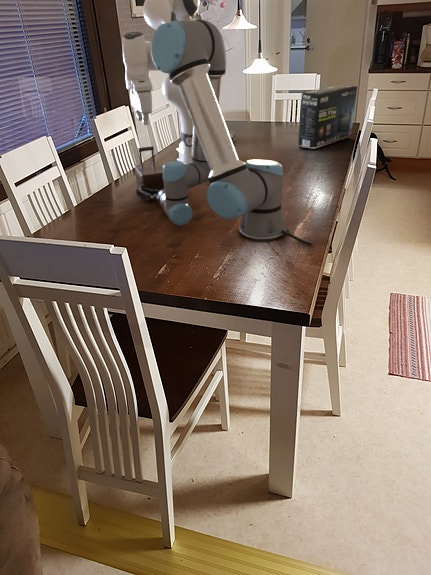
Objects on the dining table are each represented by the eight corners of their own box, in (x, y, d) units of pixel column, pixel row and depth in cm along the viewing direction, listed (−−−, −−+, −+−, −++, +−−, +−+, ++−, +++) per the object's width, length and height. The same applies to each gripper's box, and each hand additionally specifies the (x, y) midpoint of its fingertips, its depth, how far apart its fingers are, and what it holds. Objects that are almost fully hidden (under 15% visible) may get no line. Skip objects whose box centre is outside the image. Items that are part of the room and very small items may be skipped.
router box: (314, 151, 231) (318, 94, 217) (296, 148, 237) (299, 92, 224) (352, 138, 251) (358, 85, 238) (335, 135, 258) (340, 83, 245)
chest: (137, 191, 189) (134, 168, 184) (160, 187, 192) (158, 164, 187) (145, 202, 178) (142, 177, 173) (169, 198, 180) (167, 174, 176)
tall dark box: (134, 167, 185) (131, 146, 180) (158, 164, 187) (156, 143, 183) (142, 177, 173) (139, 155, 169) (167, 174, 176) (165, 152, 171)
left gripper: (124, 80, 175) (129, 118, 182) (135, 87, 158) (140, 128, 166) (140, 79, 177) (144, 116, 184) (153, 85, 160) (157, 126, 167)
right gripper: (139, 216, 159) (127, 196, 177) (200, 206, 165) (182, 187, 183) (136, 195, 155) (124, 177, 173) (199, 186, 161) (181, 169, 180)
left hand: (142, 122), depth 175 cm, fingers open, 8 cm apart
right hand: (154, 182), depth 178 cm, fingers closed on chest, 10 cm apart
